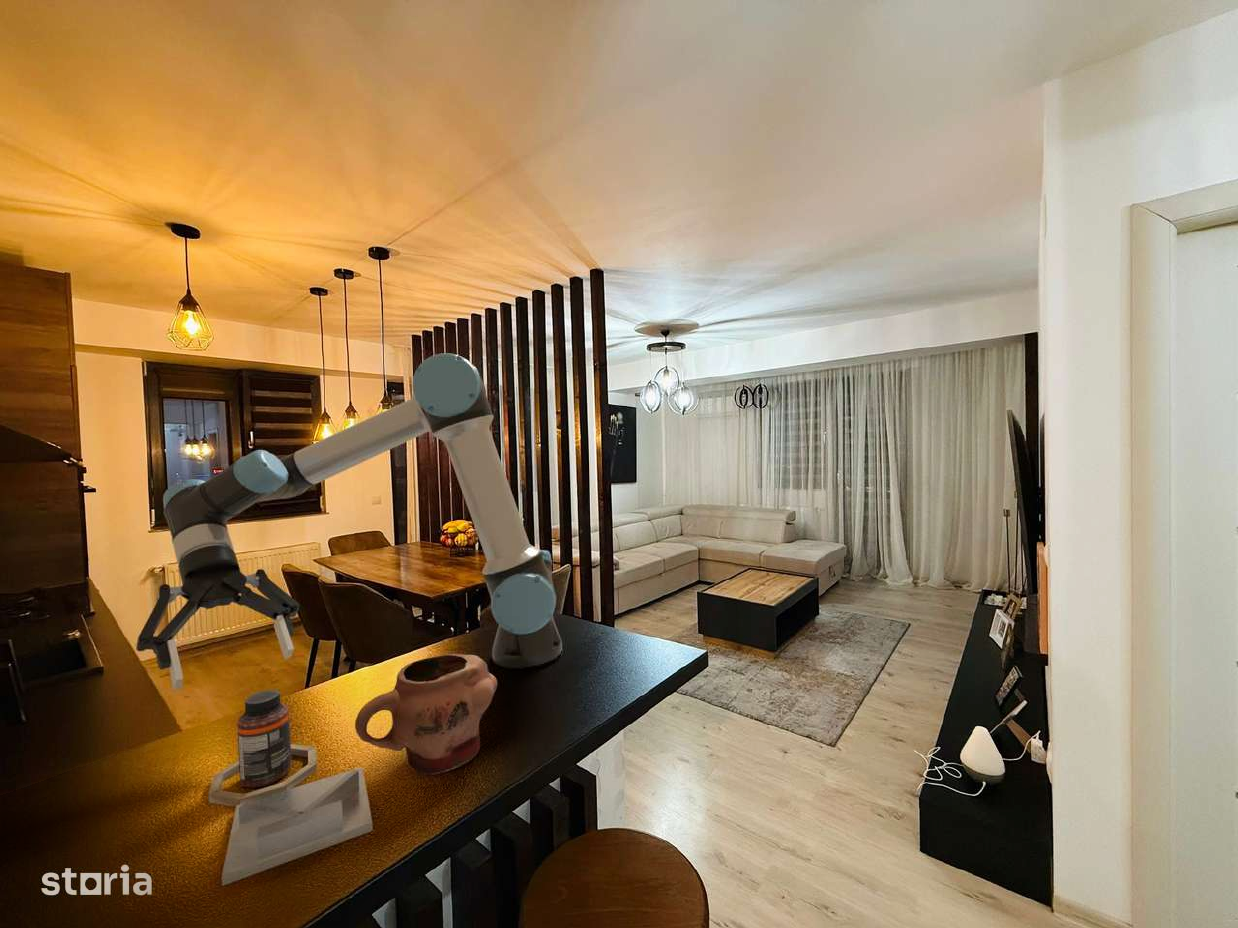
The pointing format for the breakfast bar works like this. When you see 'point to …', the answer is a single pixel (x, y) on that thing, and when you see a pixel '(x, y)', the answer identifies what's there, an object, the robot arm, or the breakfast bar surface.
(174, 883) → the breakfast bar surface
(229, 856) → the v-block
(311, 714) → the breakfast bar surface
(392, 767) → the breakfast bar surface
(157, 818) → the breakfast bar surface
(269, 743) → the supplement bottle
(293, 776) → the wooden collar
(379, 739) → the sculpted ceramic mug
